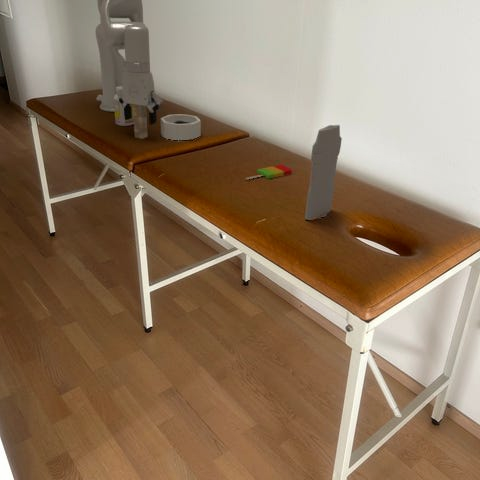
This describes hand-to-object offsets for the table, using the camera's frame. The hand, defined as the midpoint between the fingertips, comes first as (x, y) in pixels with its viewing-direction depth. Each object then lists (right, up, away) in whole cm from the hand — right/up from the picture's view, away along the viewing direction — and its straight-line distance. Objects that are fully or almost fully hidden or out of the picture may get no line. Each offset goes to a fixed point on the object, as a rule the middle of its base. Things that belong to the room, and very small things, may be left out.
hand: (140, 121), depth 170 cm
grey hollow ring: (+13, -3, +6) cm, 14 cm away
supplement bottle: (-9, +2, +16) cm, 18 cm away
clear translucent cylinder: (0, -5, +3) cm, 5 cm away
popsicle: (+41, -22, -23) cm, 51 cm away
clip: (+13, -3, +6) cm, 14 cm away
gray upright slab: (+52, -33, -45) cm, 77 cm away
